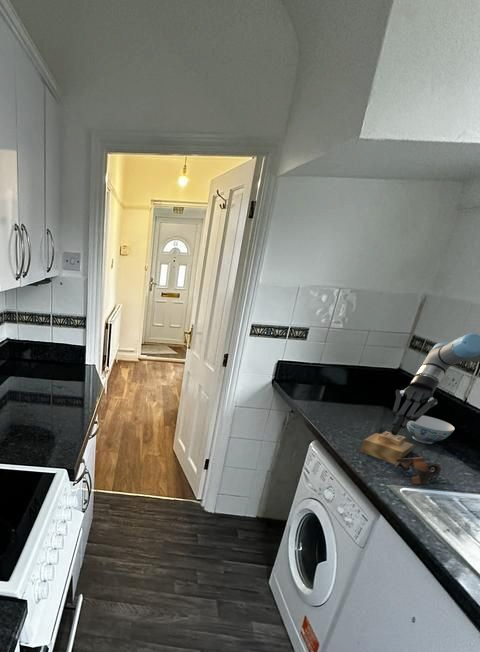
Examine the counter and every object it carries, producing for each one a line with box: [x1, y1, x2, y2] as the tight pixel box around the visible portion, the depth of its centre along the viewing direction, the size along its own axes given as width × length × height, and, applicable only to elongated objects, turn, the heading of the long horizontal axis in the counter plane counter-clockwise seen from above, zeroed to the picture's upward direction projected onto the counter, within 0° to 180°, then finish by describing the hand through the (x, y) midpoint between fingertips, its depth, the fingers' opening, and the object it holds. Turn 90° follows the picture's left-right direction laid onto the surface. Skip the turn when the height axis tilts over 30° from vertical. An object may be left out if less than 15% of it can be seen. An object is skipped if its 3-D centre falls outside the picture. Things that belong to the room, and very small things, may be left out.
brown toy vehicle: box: [393, 456, 442, 485], centre depth 132 cm, size 12×10×8 cm
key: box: [385, 434, 400, 439], centre depth 147 cm, size 4×4×2 cm
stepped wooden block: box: [359, 430, 414, 465], centre depth 146 cm, size 12×11×7 cm
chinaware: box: [406, 415, 455, 445], centre depth 161 cm, size 15×15×8 cm
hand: (393, 432), depth 146 cm, fingers closed
